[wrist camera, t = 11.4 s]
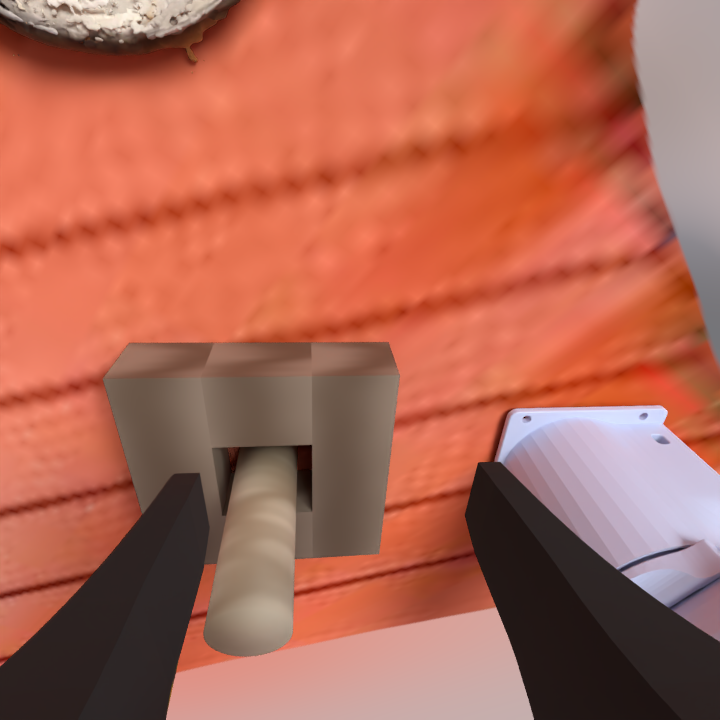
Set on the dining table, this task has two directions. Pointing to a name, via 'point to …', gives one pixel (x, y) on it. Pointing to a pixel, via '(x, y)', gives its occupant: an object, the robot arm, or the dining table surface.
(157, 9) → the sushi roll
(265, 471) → the beech peg
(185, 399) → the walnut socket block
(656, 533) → the robot arm
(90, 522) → the dining table surface
